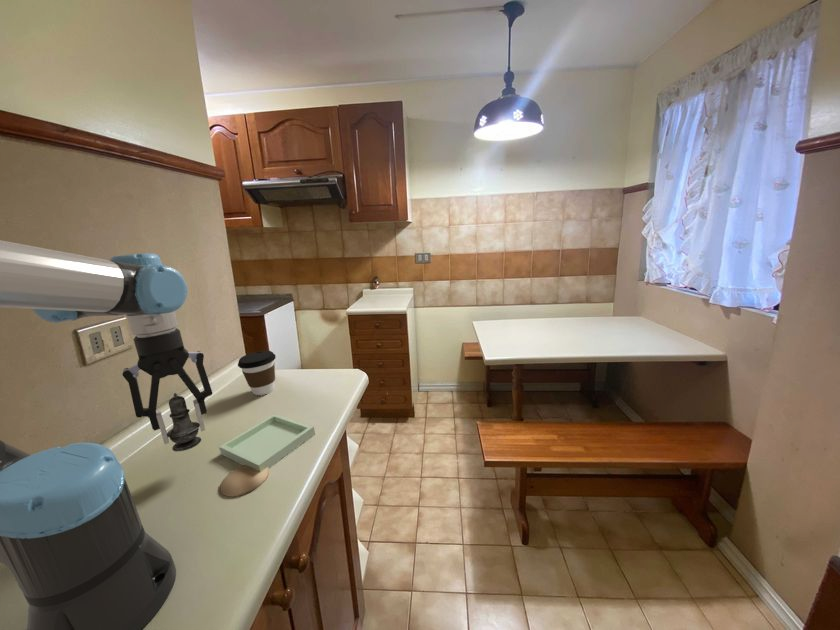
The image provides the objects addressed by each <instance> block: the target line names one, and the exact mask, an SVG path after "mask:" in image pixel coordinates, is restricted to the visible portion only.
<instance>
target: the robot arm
mask: <svg viewBox="0 0 840 630" xmlns="http://www.w3.org/2000/svg"><path fill="white" fill-rule="evenodd" d="M187 296H188V286H187V282H186V280H185V278H184V276H183V274H181V273H180V272H179V271H178V270H177V269H175V268H173V267H172V266H169V265H164V264H163V263H162V260H161V258H160V256H159V255H158V254H156V253H153V252H147V253H137V254H136V253H135V254H134V253H133V254H123V255H122V254H121V255H113V256H111V257H110V260H108V259H104V258H100V257H92V256H88V255H82V254H78V253H72V252H66V251H60V250H55V249H51V248H50V249H49V248H44V247H39V246H36V245H35V246H34V245H28V244H23V243H17V242H12V241H7V240H1V239H0V308H6V309H7V308H9V309H27V310H28V309H29V310H30V309H31V310H32V311H33V312H34V313H35V314H36V316H38V317H39V318H40V319H42V320H43V321H46V322H49V323H53V324H56V323H57V324H58V323H62V322H63V323H64V322H68V321H69V322H70V321H78V319H82V318H88V317H89V318H90V317H109V316H110V317H111V316H126V319H127V322H128V326H129V329H130V333H131V334H132V335H134V336H135V337H134V338H133V339H132V340H133V342H134V346H135V349H136V350H135V351H136V352H137V357H138V359H137V364H135V365H132V366H131V367H125V368H123V370H122V377H123V379H125V380H126V381H127V383H128V386H129V390H130V395H131V400H132V403H133V409H134V413H135V416H136V418H139V419H140V418H141V417H142V418H143V417H147V418H148V419H149V422H150V426H151V428H152V430H153V432H154V431H158V430H160V433H161V437H162V440H163V443H164V445H167V444H169V443H170V441H169V439H170V438H169V437H168V436H167V433H168V431H167V429H166V425H165V421H164V418H163V415H162V412H161V410H160V409H159V410H157V408H158V397H159V390H160V389H159V386H160V381H161V379H163V378H166V377H168V376H176V375H177V376H178V377H179V378H180V380H182V381H183V383H184V385H185V386H186V387H187V389H188V390H189V391H190V393H191V394H192V396H193V397H194V398H195V399H192V403H193V407H194V410H195V414H196V417H197V423H199V425H200V426H199V429H200V431H201V432H204V431H206V427H205V424H204V420H203V416H202V415H206V414H207V412H208V410H207V407H206V402H205V399H206V398H208V397H210V396H212V395H213V390H212V387H211V384H210V380H209V378H208V377H209V376H208V375H207V372H206V368H205V366H204V359H205V358H204V357H205V355H204V352H203V351H201V350H198V351H192V352H191V351H188V350H187V349H186V348H185V345H184V342H183V337H182V333H181V331H180V329H178V326H179V322H178V319H177V313H176V311H178V310H179V309H180V308H181V307H182V306H183V305H184V304H185V302H186V299H187ZM188 359H191V362H192V363H195V367H196V370H197V372H198V376H199V379H200V381H201V384H202V387H203V390H202V391H201V390H200V389H199V388H198V387H197V385H196V384H195V382H194V381H193V380H192V378H191V377H190V375H189V374H188V373H187V372H186V369H185V368H184V366H185V364H186V362H187V360H188ZM140 370H141V371H143V372H144V373H146V374H148V375H150V376H151V378H150V387H149V388H150V390H149V398H148V406H147V407H144V406H143V401H142V396H141V391H140V386H139V382H138V377H139V374H140V373H139V371H140ZM125 474H126V473H125V471H124V468H123V466H122V464H121V463H120V461H118V459H117V457H116V455H115V454H114V452H113V451H112V449H110V448H108V447H107V446H105V445H102V444H99V443H94V442H76V443H75V442H74V443H69V444H68V445H65V446H64V447H61V446H55V447H51V448H48V449H45V450H41V451H39V452H36V453H32V454H30V453H28V452H26V451H24V450H21V449H20V448H17V447H16V446H13V445H11V444H9V443H8V442H5V441H3V440H1V439H0V563H1V564H3V565H5V566H6V567H7V568H8V570H9V571H10V572H11V574H12V576H13V577H14V579H15V581H16V583H17V585H18V587H19V589H20V591H21V592H22V594H23V596H24V598H25V600H26V602H27V604H28V608H27V609H28V612H27V625H26V630H142V629H143V628H144V627H145V626H146V625H147V624H148V623H149V622H150V621H151V620H152V618H153V619H154V617H155V615H156V614H157V613H158V611H159V610H160V609H161V608H162V606H164V603H165V602H166V600H167V599H168V598H169V595H170V594H171V592H172V589H173V587H174V584H175V581H176V576H177V569H176V564H175V561H174V559H173V557H172V554H171V553H170V551H169V550H168V549H167V548H166V547H164V546H163V545H162V544H161V543H160V542H158V541H157V540H155V538H153V537H152V536H151V535H149V534H148V533H147V532H146V531H145V529H144V526H143V524H142V523H143V522H142V521H141V517H140V515H139V513H138V509H137V507H136V504H135V502H134V499H133V496H132V494H131V491H130V490H131V489H130V488H129V485H128V482H127V480H126V475H125Z"/></svg>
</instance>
